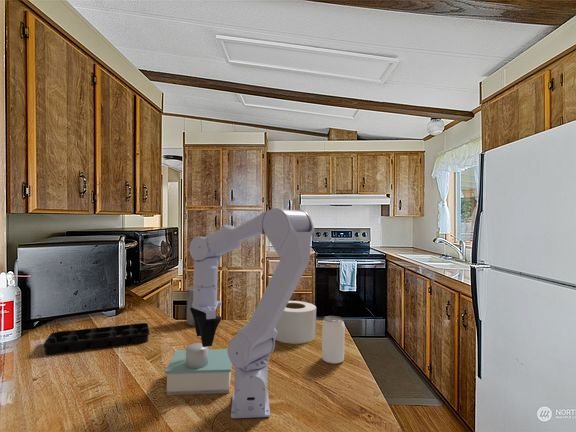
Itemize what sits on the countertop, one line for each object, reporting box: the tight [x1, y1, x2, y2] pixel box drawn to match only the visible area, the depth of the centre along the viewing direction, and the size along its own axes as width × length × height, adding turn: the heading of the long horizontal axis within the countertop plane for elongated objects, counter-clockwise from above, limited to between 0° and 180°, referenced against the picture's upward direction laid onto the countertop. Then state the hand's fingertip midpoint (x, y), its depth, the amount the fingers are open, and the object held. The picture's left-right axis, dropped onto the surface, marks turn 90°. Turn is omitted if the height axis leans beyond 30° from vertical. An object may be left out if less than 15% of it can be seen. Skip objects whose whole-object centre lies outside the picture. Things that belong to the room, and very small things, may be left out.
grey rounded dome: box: [185, 342, 209, 369], centre depth 80 cm, size 5×5×4 cm
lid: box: [164, 348, 233, 375], centre depth 82 cm, size 12×15×1 cm
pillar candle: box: [186, 285, 195, 327], centre depth 130 cm, size 10×10×15 cm
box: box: [166, 367, 233, 396], centre depth 83 cm, size 12×14×5 cm
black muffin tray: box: [42, 322, 150, 356], centre depth 107 cm, size 18×30×4 cm, turn 128°
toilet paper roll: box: [275, 300, 317, 345], centre depth 117 cm, size 16×15×11 cm
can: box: [321, 315, 346, 365], centre depth 98 cm, size 6×6×12 cm
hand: (204, 340), depth 82 cm, fingers open, 7 cm apart
